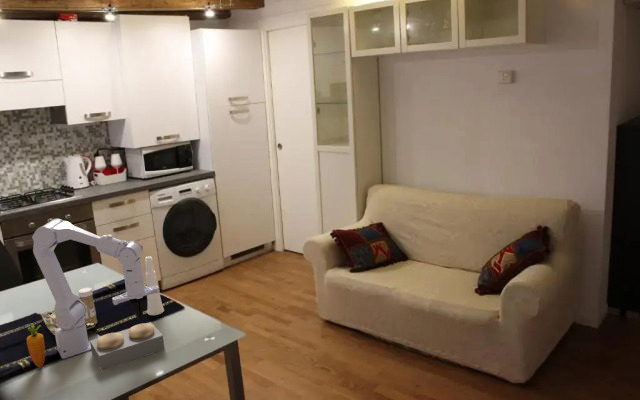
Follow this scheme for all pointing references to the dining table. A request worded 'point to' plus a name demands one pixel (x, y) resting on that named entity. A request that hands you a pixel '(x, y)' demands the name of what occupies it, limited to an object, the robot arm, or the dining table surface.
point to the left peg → (110, 341)
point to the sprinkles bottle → (88, 305)
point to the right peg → (141, 331)
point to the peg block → (127, 349)
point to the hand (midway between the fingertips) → (139, 318)
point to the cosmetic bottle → (151, 280)
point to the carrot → (36, 346)
